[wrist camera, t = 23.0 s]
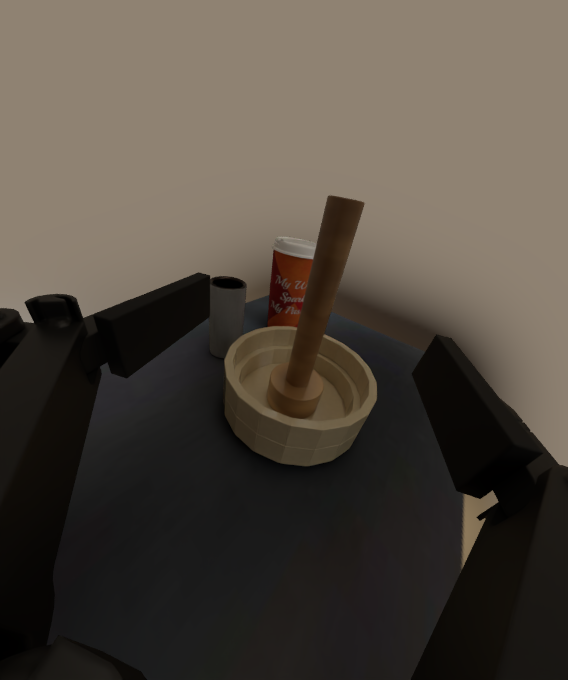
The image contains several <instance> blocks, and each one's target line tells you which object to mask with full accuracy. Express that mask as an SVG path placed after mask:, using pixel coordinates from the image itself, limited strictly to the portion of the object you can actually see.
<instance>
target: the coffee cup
mask: <svg viewBox="0 0 568 680" xmlns="http://www.w3.org/2000/svg"><path fill="white" fill-rule="evenodd" d="M316 245H317V243H314V242H311V241H307V240H303V239H298V238H292V237H277V238H276V240H275V244H273V245H272V248H273V249H274V251H273V252H274V253H273V263H272V274H271V283H270V296H269V309H268V327H271V326H291V327H297V326H298V322H299V318H300V313H301V309H302V305H303V301H304V296H305V292H306V288H307V283H308V279H309V275H310V271H311V266H312V262H313V258H314V253H315V249H316Z"/></svg>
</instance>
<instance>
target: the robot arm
mask: <svg viewBox="0 0 568 680" xmlns="http://www.w3.org/2000/svg"><path fill="white" fill-rule="evenodd" d="M25 304H26V307H27V309H28V311H29V313H30V315H31V317H32V319H33V321H34V323H28V322H23V320H22V318H21V316H20V314H19V312H18V311H16V310H14V309H7V308H0V680H147V679H146V678H145V677H144V675H143V674H142V672H141V671H139V670H137V669H135V668H133V667H131V666H129V665H127V664H125V663H123V662H122V661H120V660H118V659H116V658H114V657H112V656H110V655H108V654H106V653H104V652H103V651H100V650H98V649H95V648H92V647H89V646H87V645H84V644H81V643H79V642H76V641H73V640H71V639H68V638H65V637H62V636H60V635H58V637H57V638H56V640H55V641H54V643H53V644H52V645H47V646H46V644H47V640H48V635H49V631H50V626H51V622H52V616H53V610H54V597H55V593H54V586H53V568H54V563H55V559H56V555H57V551H58V547H59V543H60V539H61V535H62V531H63V527H64V523H65V519H66V515H67V511H68V507H69V503H70V499H71V495H72V491H73V487H74V483H75V479H76V475H77V471H78V467H79V463H80V459H81V455H82V451H83V447H84V443H85V439H86V435H87V431H88V427H89V423H90V419H91V415H92V411H93V407H94V403H95V399H96V395H97V391H98V387H99V383H100V379H101V375H102V373H101V369H100V366H102V365H103V364H105V363H107V362H108V365H109V368H110V371H111V373H112V374H115V375H118V376H121V377H124V378H128V377H129V376H131V375H132V374H133V373H135V372H136V371H137V370H139V369H140V368H141V367H143V366H144V365H146V364H147V363H148V362H150V361H151V360H152V359H154V358H155V357H156V356H158V355H159V354H160V353H162V352H163V351H164V350H166V349H167V348H168V347H170V346H171V345H172V344H174V343H175V342H176V341H178V340H179V339H180V338H182V337H183V336H184V335H186V334H187V333H188V332H190V331H191V330H192V329H194V328H195V327H196V326H198V325H199V324H200V323H202V322H203V321H205V320H206V319H207V318H209V317H210V275H206V274H202V273H196V274H194V275H191V276H189V277H187V278H184V279H181V280H179V281H176V282H174V283H171V284H169V285H166V286H164V287H161V288H159V289H156V290H154V291H151V292H149V293H146V294H144V295H141V296H139V297H136V298H134V299H130V300H128V301H125V302H123V303H120V304H118V305H115V306H113V307H111V308H108V309H105V310H103V311H100V312H97V313H95V314H93V315H90V316H87V317H85V318H83V316H82V314H81V311H80V308H79V305H78V302H77V299H76V298H75V297H73V296H70V295H65V294H50V295H43V296H37V297H34V298H31V299H29V300H27V301H26V302H25ZM412 376H413V378H414V381H415V383H416V386H417V389H418V391H419V394H420V397H421V399H422V402H423V404H424V407H425V410H426V412H427V415H428V417H429V420H430V423H431V425H432V428H433V431H434V433H435V436H436V438H437V441H438V444H439V446H440V449H441V451H442V454H443V457H444V459H445V462H446V465H447V467H448V470H449V472H450V475H451V478H452V480H453V483H454V485H455V488H456V491H458V492H461V493H464V494H467V495H470V496H473V497H476V498H479V499H481V498H482V497H484V496H485V495H487V494H488V493H489V492H491V491H492V490H493V491H494V493H495V495H496V497H497V499H498V501H499V502H498V503H497V504H495V505H494V506H492V507H491V508H489V509H488V510H486V511H485V512H483V513H481V514H480V515H479V516H478V517H477V518H478V519H479V520H482V519H484V518H486V520H485V522H484V524H483V526H482V528H481V530H480V532H479V535H478V537H477V539H476V541H475V543H474V545H473V547H472V550H471V552H470V554H469V556H468V558H467V560H466V562H465V565H464V567H463V569H462V571H461V573H460V575H459V577H458V580H457V582H456V584H455V586H454V588H453V590H452V592H451V595H450V597H449V599H448V601H447V603H446V605H445V607H444V610H443V612H442V614H441V616H440V618H439V620H438V622H437V624H436V627H435V629H434V631H433V633H432V635H431V637H430V639H429V642H428V644H427V646H426V648H425V650H424V652H423V654H422V657H421V659H420V661H419V663H418V665H417V667H416V669H415V672H414V674H413V676H412V678H411V680H568V467H566V466H563V465H559V464H558V463H557V462H556V460H555V459H554V458H553V457H552V456H551V454H550V453H549V452H548V451H547V450H546V448H545V447H544V446H543V445H542V443H541V442H540V441H539V440H538V439H537V437H536V436H535V435H534V434H533V433H532V432H530V429H529V428H528V427H527V425H526V424H525V423H523V422H522V419H521V418H520V417H519V416H518V415H517V413H516V412H515V411H514V410H513V409H512V408H511V407H510V406H508V405H507V404H506V403H505V402H503V401H502V400H501V399H500V398H499V397H498V396H497V394H496V393H495V392H494V391H493V389H492V388H491V387H490V386H489V384H488V383H487V382H486V381H485V379H484V378H483V377H482V376H481V374H480V373H479V372H478V371H477V370H476V368H475V367H474V366H473V365H472V363H471V362H470V361H469V360H468V358H467V357H466V356H465V355H464V353H463V352H462V351H461V350H460V348H459V347H458V346H457V345H456V343H455V342H454V341H453V340H452V338H448V337H444V336H440V335H436V336H435V337H434V339H433V341H432V342H431V344H430V345H429V347H428V349H427V350H426V352H425V353H424V355H423V357H422V358H421V360H420V361H419V363H418V364H417V366H416V368H415V369H414V371H413V372H412Z"/></svg>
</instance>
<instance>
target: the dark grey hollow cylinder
mask: <svg viewBox="0 0 568 680" xmlns="http://www.w3.org/2000/svg"><path fill="white" fill-rule="evenodd" d="M245 299H246V283H245V282H244V281H242V280H240V279H238V278H234V277H227V276H219V277H214V278H212V279H210V317H209V348H210V352H211V354H212V355H214V356H216V357H218V358H224V359H225V357H226V355H227V353H228V350H229V348H230V346H231V345H232V344H233V343H234V342H235V341H236V340H237V339H238V338H239V337H241V336H242V334H243V322H244V311H245Z"/></svg>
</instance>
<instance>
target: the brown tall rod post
mask: <svg viewBox="0 0 568 680" xmlns="http://www.w3.org/2000/svg"><path fill="white" fill-rule="evenodd" d="M363 207H364V202H361V201H357V200H352V199H348V198H342V197H337V196H328V198H327V202H326V206H325V211H324V215H323V219H322V223H321V228H320V232H319V236H318V241H317V245H316V249H315V253H314V258H313V262H312V266H311V271H310V275H309V279H308V283H307V288H306V292H305V296H304V301H303V305H302V309H301V313H300V318H299V322H298V326H297V331H296V335H295V339H294V344H293V348H292V352H291V356H290V361H289V362H287V363H282V364H279V365H277V366H276V367H275V368H274V369H273V370H272V372H271V374H270V380H269V385H268V390H267V400H268V403H269V405H270V407H271V408H272V409H273V410H274V411H276V412H279V413H281V414H284V415H286V416H288V417H291V418H298V419H304V418H307V417H309V416H311V415H312V414H313V413H314V412H315V410H316V408H317V405H318V403H319V400H320V397H321V395H322V392H323V389H324V383H323V380H322V378H321V376H320V375H319V374H318V373H317V372H316V371H315V370H314V369H313V367H314V364H315V361H316V358H317V355H318V351H319V348H320V345H321V342H322V339H323V335H324V332H325V329H326V326H327V323H328V319H329V316H330V313H331V310H332V306H333V303H334V300H335V297H336V294H337V291H338V287H339V284H340V281H341V278H342V275H343V271H344V268H345V265H346V262H347V259H348V255H349V252H350V249H351V246H352V242H353V239H354V236H355V233H356V230H357V226H358V223H359V220H360V217H361V214H362V210H363Z"/></svg>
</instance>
